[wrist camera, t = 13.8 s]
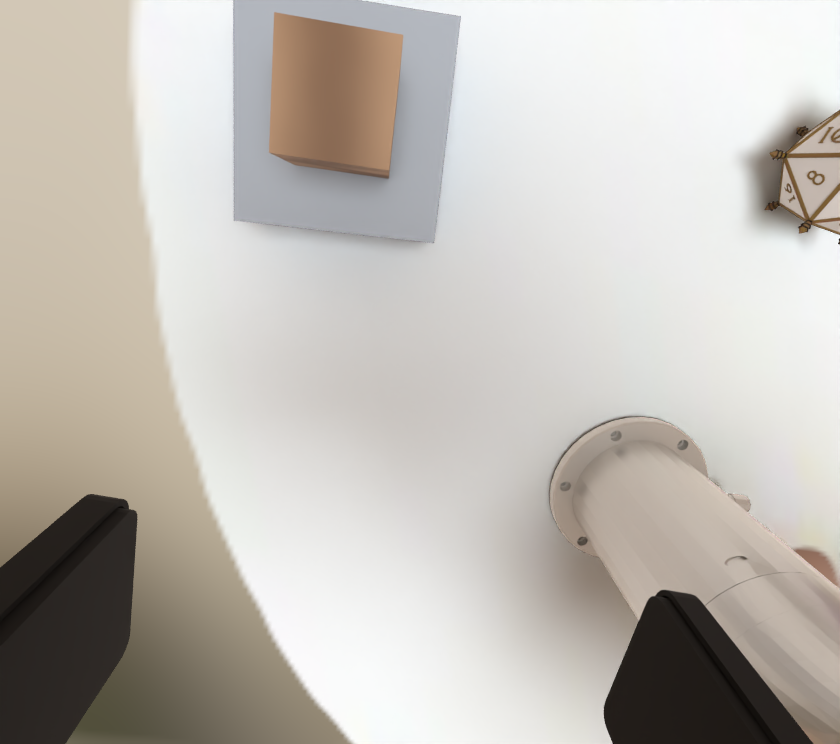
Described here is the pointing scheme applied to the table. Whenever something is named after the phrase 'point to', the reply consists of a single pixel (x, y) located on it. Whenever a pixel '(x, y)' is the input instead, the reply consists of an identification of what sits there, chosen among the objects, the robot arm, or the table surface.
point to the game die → (812, 176)
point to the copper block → (334, 95)
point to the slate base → (331, 190)
